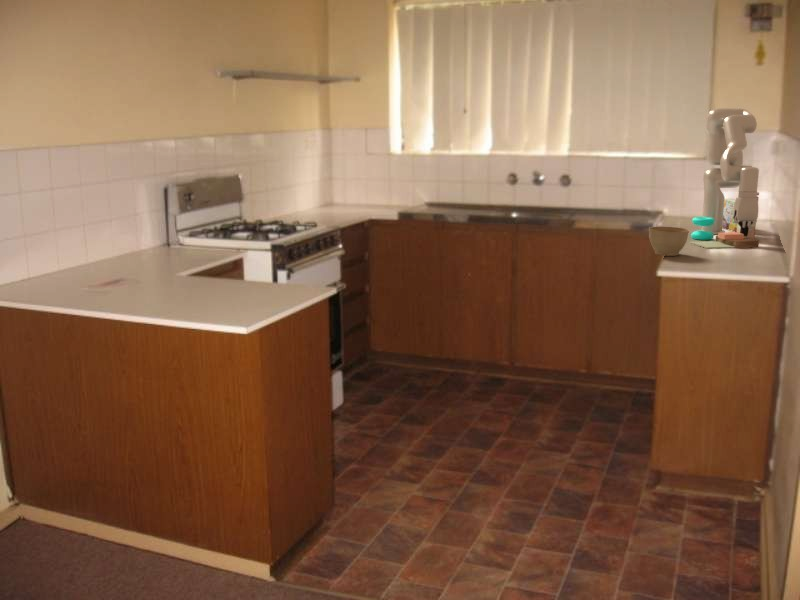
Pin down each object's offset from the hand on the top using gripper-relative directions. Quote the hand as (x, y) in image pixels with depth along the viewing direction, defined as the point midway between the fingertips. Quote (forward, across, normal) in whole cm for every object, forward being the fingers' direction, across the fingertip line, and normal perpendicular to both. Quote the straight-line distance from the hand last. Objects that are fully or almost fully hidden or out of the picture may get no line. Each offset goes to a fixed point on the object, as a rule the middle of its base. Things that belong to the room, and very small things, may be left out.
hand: (743, 235), depth 378 cm
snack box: (+4, -21, -42) cm, 47 cm away
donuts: (+4, +10, -19) cm, 22 cm away
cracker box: (+4, -10, -14) cm, 17 cm away
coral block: (0, +6, 0) cm, 6 cm away
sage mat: (+4, +15, 0) cm, 16 cm away
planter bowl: (+4, +46, +18) cm, 50 cm away
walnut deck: (+4, +3, 0) cm, 5 cm away
